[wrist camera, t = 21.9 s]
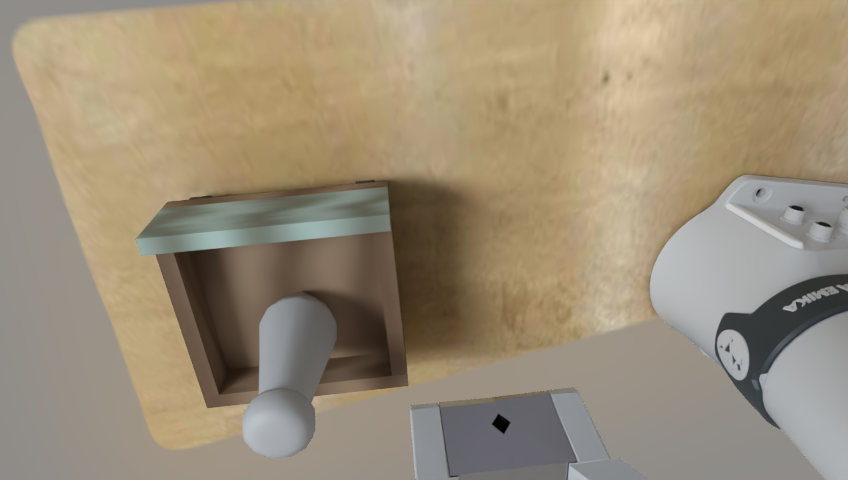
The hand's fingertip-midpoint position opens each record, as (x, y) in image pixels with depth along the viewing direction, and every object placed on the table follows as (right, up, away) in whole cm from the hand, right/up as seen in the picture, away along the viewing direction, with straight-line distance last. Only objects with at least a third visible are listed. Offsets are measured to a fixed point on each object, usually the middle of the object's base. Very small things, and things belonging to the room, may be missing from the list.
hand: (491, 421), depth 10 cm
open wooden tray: (-12, +1, +36) cm, 38 cm away
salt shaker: (-11, -2, +34) cm, 36 cm away
